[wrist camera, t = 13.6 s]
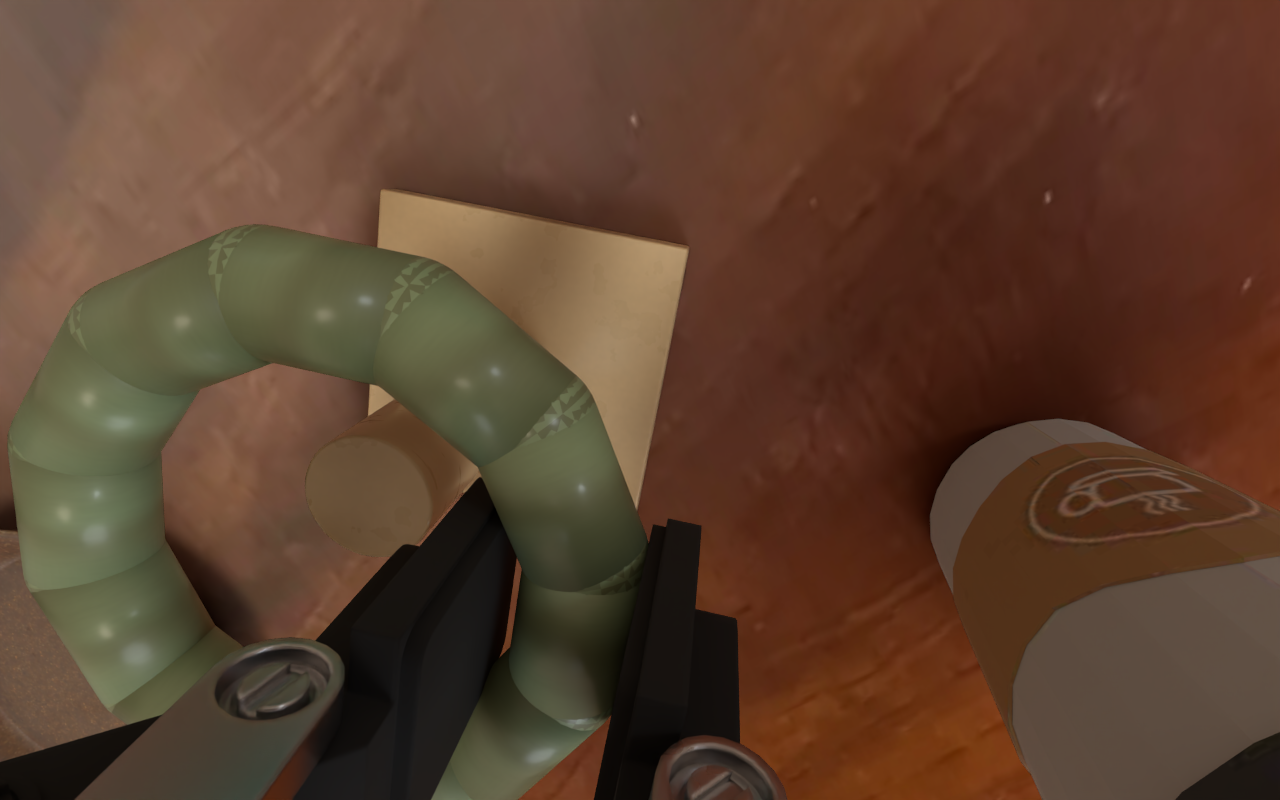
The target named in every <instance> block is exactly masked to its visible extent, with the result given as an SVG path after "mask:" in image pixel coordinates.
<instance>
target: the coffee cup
mask: <svg viewBox="0 0 1280 800" xmlns="http://www.w3.org/2000/svg"><path fill="white" fill-rule="evenodd" d="M930 535H931V542H932V545H933V547H934V550H935V553H936V556H937V559H938V562H939V564H940V566H941V568H942V571H943V573H944V575H945V578H946V580H947V582H948V585H949V587H950V589H951V591H952V594H953V599H954V602H955V605H956V607H957V610H958V613H959V616H960V619H961V622H962V625H963V627H964V630H965V632H966V634H967V637H968V639H969V641H970V644H971V646H972V648H973V651H974V653H975V655H976V658H977V660H978V662H979V665H980V667H981V670H982V672H983V674H984V677H985V679H986V681H987V684H988V686H989V688H990V691H991V693H992V695H993V698H994V700H995V702H996V705H997V707H998V709H999V712H1000V714H1001V717H1002V719H1003V721H1004V724H1005V726H1006V728H1007V731H1008V733H1009V735H1010V738H1011V740H1012V742H1013V745H1014V747H1015V749H1016V752H1017V754H1018V757H1019V759H1020V761H1021V763H1022V764H1023V765H1024V766H1025V768H1026V769H1027V770H1028V772H1029V773H1030V774H1031V775H1032V777H1033V779H1034V782H1035V784H1036V786H1037V789H1038V791H1039V793H1040V795H1041V798H1042V800H1280V511H1278V510H1276V509H1274V508H1272V507H1270V506H1268V505H1266V504H1264V503H1261V502H1259V501H1257V500H1255V499H1253V498H1251V497H1249V496H1247V495H1245V494H1243V493H1241V492H1239V491H1237V490H1235V489H1233V488H1231V487H1229V486H1227V485H1225V484H1222V483H1220V482H1218V481H1216V480H1214V479H1212V478H1210V477H1208V476H1206V475H1204V474H1202V473H1200V472H1198V471H1196V470H1194V469H1192V468H1190V467H1187V466H1185V465H1183V464H1180V463H1178V462H1176V461H1173V460H1171V459H1169V458H1166V457H1164V456H1162V455H1159V454H1157V453H1155V452H1152V451H1150V450H1146V449H1144V448H1142V447H1140V446H1138V445H1136V444H1134V443H1132V442H1130V441H1128V440H1126V439H1124V438H1122V437H1120V436H1118V435H1116V434H1114V433H1112V432H1109V431H1107V430H1105V429H1102V428H1100V427H1097V426H1095V425H1093V424H1090V423H1087V422H1079V421H1072V420H1064V419H1050V420H1040V421H1030V422H1025V423H1021V424H1017V425H1014V426H1011V427H1008V428H1005V429H1002V430H999V431H996V432H993V433H991V434H990V435H988V436H986V437H985V438H983V439H981V440H980V441H978V442H976V443H975V444H973V445H971V446H970V447H969V448H968V449H967V450H966V451H965V452H964V453H963V454H962V455H961V456H960V457H959V458H958V459H957V460H956V461H955V462H954V463H953V464H952V465H951V467H950V469H949V470H948V472H947V474H946V475H945V477H944V479H943V480H942V482H941V483H940V486H939V487H938V489H937V491H936V495H935V498H934V502H933V505H932V509H931V513H930Z"/></svg>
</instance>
